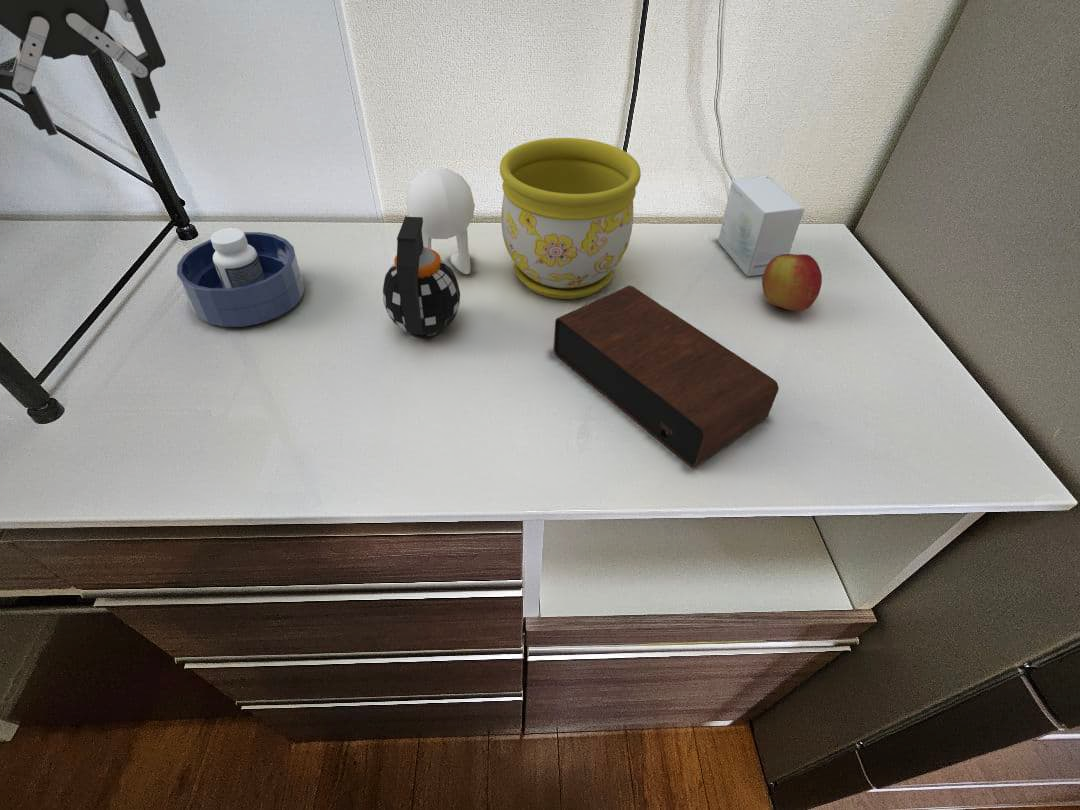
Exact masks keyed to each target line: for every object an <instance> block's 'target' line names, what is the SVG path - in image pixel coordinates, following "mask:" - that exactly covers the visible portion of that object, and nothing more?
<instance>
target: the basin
mask: <svg viewBox="0 0 1080 810" xmlns="http://www.w3.org/2000/svg"><path fill="white" fill-rule="evenodd" d="M243 232H244V234H245V236H246V239H247V242H248V244H249V245H251V246H252V247H253V248H254V249H255V250H256V253H257V255H258V258H259V261H260V264H261V267H262V270H263V273H264V276H265V280H262V281H259V282H256V283H253V284H250V285H247V286H241V287H235V288H223V285H222V283H221V280H220V277H219V275H218V272H217V270H216V267H215V265H214V261H213V255H214V253H215V251H216V250H215V249H214V248H213V245H212V242H211V238H210V239H208V240H206V241H204V242H201V243H199V244H198V245H196V246H194V247H192V248H191V249H190V250H188V251H187V252H185V254H183V255H182V257H181V259H180V260H179V261H178V263H177V265H176V275H177V278H178V280H179V282H180V285H181V287H182V290H183V292H184V294H185V295H186V296H185V297H186V298H187V301H188V303H189V305H190V307H191V309H192V311H193V313H194V314H195V315H196V317H197V318H198V319H200V320H202V321H203V322H206V323H207V324H210V325H214V326H220V327H225V328H226V327H227V328H229V327H231V328H233V327H234V328H235V327H236V328H237V327H239V328H240V327H241V328H242V327H247V326H254V325H258V324H259V325H260V324H262V323H265V322H269V321H271V320H273V319H277V318H279V317H281V316H282V315H284V314H286V313H287V312H289V311H291V310H292V309H293V308H294V307H295V306H296V305H297V304H298V303H299V302H300V301H301V300H302V297H303V295H304V292H305V284H304V279H303V276H302V272H301V269H300V264H299V261H298V258H297V254H296V250H295V247H294V246H293V245H292V243H291V242H289V240H288V239H286V238H284V237H281V236H279V235H277V234H275V233H274V234H273V233H268V232H262V231H259V232H258V231H243Z"/></svg>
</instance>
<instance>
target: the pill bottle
mask: <svg viewBox="0 0 1080 810" xmlns="http://www.w3.org/2000/svg"><path fill="white" fill-rule="evenodd" d="M244 232H245V231H243V230H242V229H240V228H236V227H228V228H222V229H219V230H217V231H215V232H213V234H211V235H210V239H211V242H212V245H213V248H214V249H215V250H216V251H215V253H214V255H213V261H214V265H215V267H216V270H217V272H218V275H219V277H220V280H221V283H222V285H223V288H235V287H241V286H247V285H250V284H253V283H256V282H259V281H262V280H265V276H264V273H263V270H262V267H261V264H260V261H259V258H258V255H257V253H256V250H255V249H254V248H253V247H252V246H251V245H249V244H248V242H247V239H246V236H245V234H244Z"/></svg>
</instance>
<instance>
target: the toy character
mask: <svg viewBox="0 0 1080 810" xmlns="http://www.w3.org/2000/svg"><path fill="white" fill-rule="evenodd" d="M405 198H406V199H405V206H406V211H407V214H408V217H423V225H422V238H423V247H425V248H429V249H432V239H433V240H448V239H451V238H454V237H455V239H456V244H457V252H455V253H452V255H451V256H450V262H451V264H452V265H453V266H454V267H455V268H456V269H457V270H458V271H459V272H461V273H462V274H464V275H468V274H470V273H471V258H470V251H469V250H470V249H469V238H468V227H469V226H470V225H471V224H470V223H471V222H472V220H473V219H474V214H475V207H476V205H475V200H474V195H473V192H472V188H471V185H470V184H469V183H468V182H467V180H466V179H465V177H464V176H463V175H461V174H460V173H457V172H456V171H454V170H451V169H449V168H448V167H447V168H445V167H432V168H429V169H426V170H423V171H421V172H420V173H418V174H417V175H416V176H415V177H414V178H413V179H412V180H411V182H410V184H409V185H408V187H407V189H406V197H405Z"/></svg>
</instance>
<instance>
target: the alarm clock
mask: <svg viewBox="0 0 1080 810" xmlns="http://www.w3.org/2000/svg"><path fill="white" fill-rule="evenodd" d="M553 352H554V354H555V356H556V357H557V358H558V359H559V360H561V362H563V363H564V364H565V365H566V366H568V367H569V368H570V369H571V370H572V371H574V372H575V373H576V374H577V375H578V376H580V377H581V378H583V380H584V381H586V382H587V383H588V384H590V385H591V386H592V387H593V388H594V389H596V390H597V391H598V392H599V393H601V395H603V396H605V398H606V399H608V400H609V401H610V402H611V403H613V404H614V405H615V406H616V407H617V408H619V409H620V410H621V411H622V412H624V413H625V414H626V415H627V416H628V417H629V418H631V419H632V420H633V421H634V422H636V423H637V424H638V425H639V426H640V427H641V428H642V429H644V430H645V431H646V432H648V433H649V434H650V435H651V436H653V437H654V438H655V439H656V440H657V441H658V442H660V443H661V444H662V445H663V446H664V447H666V448H667V449H668V450H669V451H671V452H672V453H673V454H674V455H675V456H676V457H678V458H679V459H680V460H682V462H684V463H685V464H687V465H688V466H689V467H690V468H696V467H698V466H699V465H700V464H701V463H703V462H704V461H706V460H708V459H709V458H710V457H711V456H713V455H715V454H717V452H720V450H722V449H723V448H725V447H726V446H728V445H730V444H731V443H732V442H734V441H735V440H737V439H738V438H740V437H741V436H742V435H744V434H745V433H747V432H748V431H750V430H752V429H753V428H755V427H756V426H757V425H759V424H760V423H762V422H763V421H765V420H766V419H767V418H768V417H769V414H770V412H771V409H772V407H773V405H774V402H775V400H776V398H777V395H778V392H779V388H780V387H779V384H778V382H777V381H776V380H775V378H773V377H771V376H770V375H768V374H767V373H765V372H764V371H762V370H761V369H759V368H757V367H756V366H755V365H753V364H751V363H750V362H748V361H747V360H745V359H744V358H742V357H741V356H739V355H737V354H736V353H735V352H733V351H732V350H730V349H728V348H727V347H726V346H724V345H723V344H721V343H720V342H718V341H716V340H715V339H714V338H712V337H710V336H709V335H707V334H705V333H704V332H702V331H701V330H700V329H698V328H697V327H695V326H694V325H692V324H691V323H689V322H688V321H686V320H685V319H683V318H681V317H680V316H679V315H677V314H675V312H673V311H671V310H669V309H668V308H667V307H665V306H663V305H662V304H660V303H659V302H657V301H656V300H654V299H653V298H651V297H650V296H648V295H646V294H645V293H643V292H642V291H641V290H639V289H637V288H636V287H634V286H633V285H626V286H625V287H622V288H621V289H618V290H616V291H614V292H612V293H610V294H607V295H605V296H602V297H600V298H599V299H596V300H593V301H592V302H590V303H587V304H585V305H583V306H581V307H579V308H576V309H574V310H572V311H570V312H567V313H566V314H562V315H560V316H559V317H556V318H555V321H554V336H553Z"/></svg>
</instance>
